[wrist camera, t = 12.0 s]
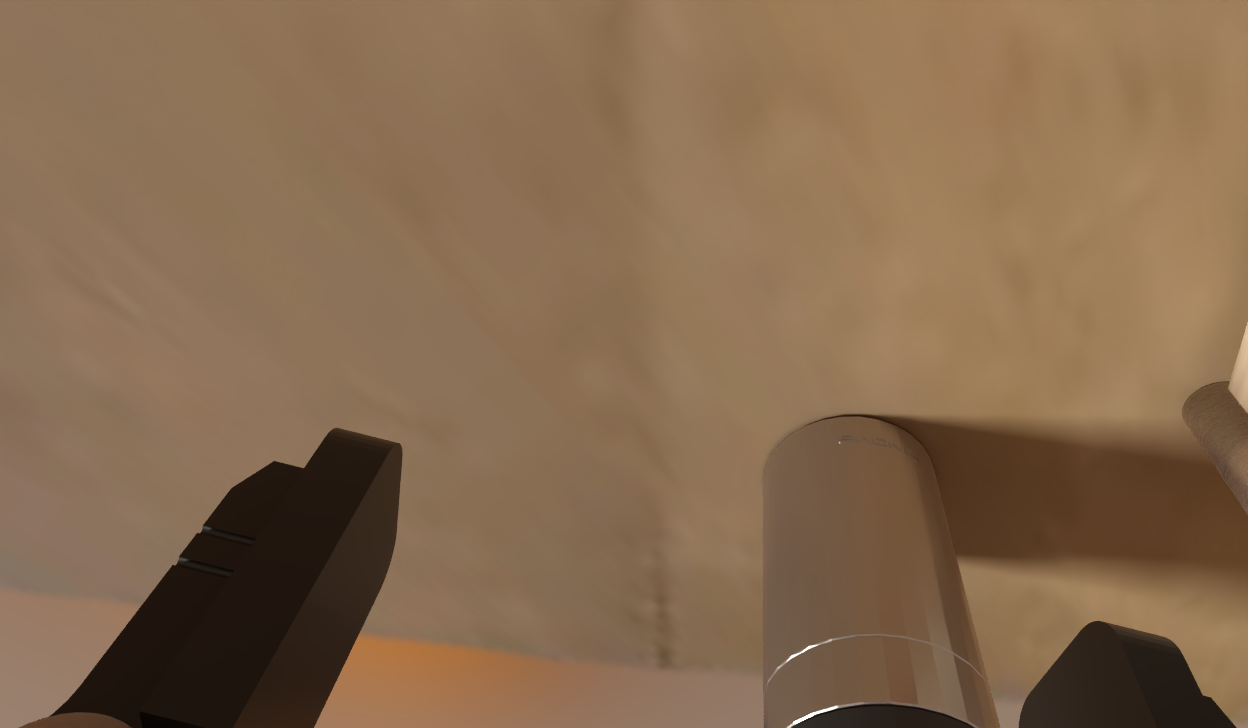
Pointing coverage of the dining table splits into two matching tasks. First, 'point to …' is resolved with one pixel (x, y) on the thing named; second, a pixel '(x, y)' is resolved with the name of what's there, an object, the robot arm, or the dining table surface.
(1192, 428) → the hinge post
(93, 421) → the dining table surface
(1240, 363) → the light wood flat panel
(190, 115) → the dining table surface
